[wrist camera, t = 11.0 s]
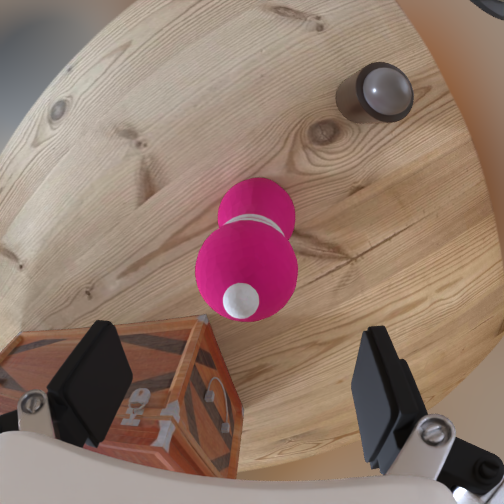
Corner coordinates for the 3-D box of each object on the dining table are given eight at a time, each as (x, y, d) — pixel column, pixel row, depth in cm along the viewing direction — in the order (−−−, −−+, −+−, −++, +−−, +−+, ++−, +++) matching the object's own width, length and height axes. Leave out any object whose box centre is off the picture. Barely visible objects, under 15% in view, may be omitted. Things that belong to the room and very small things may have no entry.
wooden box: (18, 330, 44) (-40, 394, 26) (208, 311, 38) (164, 444, 20) (68, 404, 51) (30, 470, 33) (246, 410, 45) (234, 517, 27)
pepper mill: (241, 246, 34) (208, 377, 16) (214, 188, 32) (138, 270, 14) (302, 223, 33) (334, 343, 15) (277, 162, 31) (283, 211, 12)
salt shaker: (334, 74, 27) (361, 51, 17) (381, 79, 26) (424, 62, 17) (336, 122, 29) (365, 119, 19) (382, 125, 28) (427, 126, 19)
